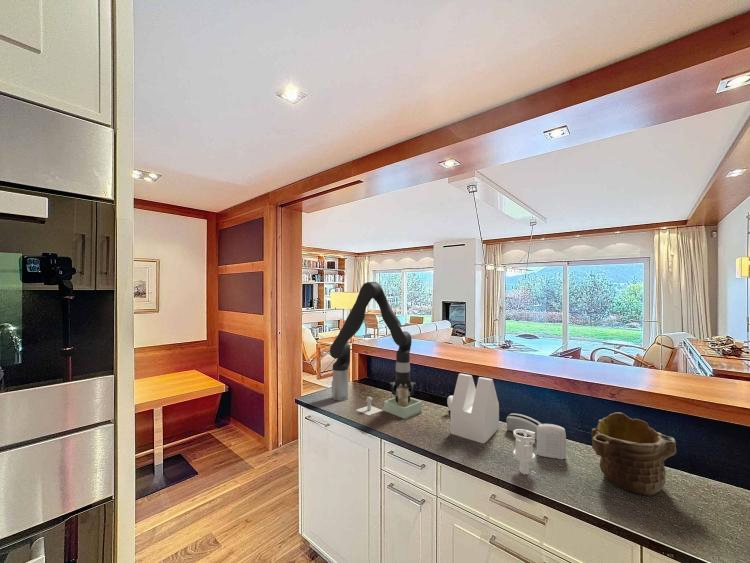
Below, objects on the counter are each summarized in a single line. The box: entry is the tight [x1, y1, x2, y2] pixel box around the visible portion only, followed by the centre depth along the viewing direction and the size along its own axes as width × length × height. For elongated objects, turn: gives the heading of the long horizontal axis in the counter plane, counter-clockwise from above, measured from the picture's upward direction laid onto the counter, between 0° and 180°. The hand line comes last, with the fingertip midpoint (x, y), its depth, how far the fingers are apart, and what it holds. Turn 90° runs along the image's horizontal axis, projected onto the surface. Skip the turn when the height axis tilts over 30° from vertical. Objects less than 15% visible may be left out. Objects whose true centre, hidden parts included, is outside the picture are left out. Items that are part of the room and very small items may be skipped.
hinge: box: [506, 413, 542, 439], centre depth 147 cm, size 17×5×10 cm, turn 39°
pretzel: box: [446, 394, 454, 412], centre depth 171 cm, size 11×12×9 cm
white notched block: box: [450, 372, 500, 444], centre depth 151 cm, size 19×15×25 cm
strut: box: [398, 386, 409, 407], centre depth 172 cm, size 5×5×12 cm
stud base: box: [356, 396, 383, 416], centre depth 173 cm, size 10×10×8 cm
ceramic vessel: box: [591, 411, 677, 496], centre depth 111 cm, size 23×24×25 cm
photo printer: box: [536, 423, 567, 460], centre depth 129 cm, size 10×4×12 cm, turn 73°
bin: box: [383, 396, 423, 421], centre depth 172 cm, size 14×14×6 cm
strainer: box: [512, 429, 536, 475], centre depth 118 cm, size 7×7×15 cm
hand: (402, 402), depth 172 cm, fingers closed on strut, 5 cm apart
